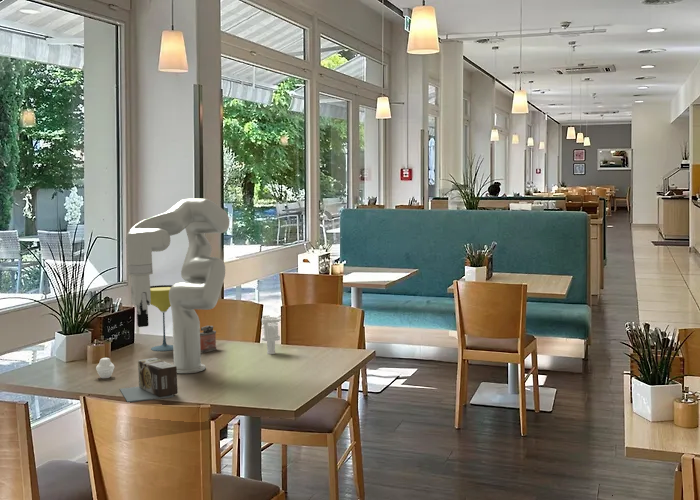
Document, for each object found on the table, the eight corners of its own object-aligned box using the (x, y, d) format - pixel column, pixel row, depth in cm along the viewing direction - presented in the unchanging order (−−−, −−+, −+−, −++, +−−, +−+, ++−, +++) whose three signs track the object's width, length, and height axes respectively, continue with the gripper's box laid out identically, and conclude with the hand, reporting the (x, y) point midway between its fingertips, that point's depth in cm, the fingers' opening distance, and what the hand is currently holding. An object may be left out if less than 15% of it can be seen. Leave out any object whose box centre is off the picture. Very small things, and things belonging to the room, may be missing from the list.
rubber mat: (119, 389, 248) (119, 388, 248) (163, 384, 254) (163, 383, 254) (127, 402, 233) (127, 401, 233) (173, 396, 239) (173, 395, 239)
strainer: (268, 350, 306) (267, 313, 305) (283, 352, 303) (282, 314, 302) (258, 354, 300) (258, 316, 299) (274, 355, 297) (273, 317, 296)
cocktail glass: (152, 343, 323) (150, 284, 321) (193, 344, 321) (191, 285, 319) (134, 352, 305) (132, 290, 303) (177, 353, 303) (176, 290, 301)
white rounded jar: (95, 376, 267) (94, 356, 266) (113, 374, 269) (112, 354, 269) (97, 380, 261) (96, 360, 261) (115, 378, 264) (115, 358, 263)
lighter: (212, 348, 313) (211, 324, 312) (218, 349, 311) (217, 324, 310) (197, 351, 306) (197, 327, 305) (203, 352, 304) (203, 327, 303)
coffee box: (137, 360, 248) (157, 368, 236) (155, 357, 252) (177, 365, 240) (138, 388, 249) (159, 397, 236) (156, 384, 253) (178, 394, 240)
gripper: (124, 267, 249) (127, 323, 251) (131, 273, 236) (134, 331, 238) (148, 266, 253) (150, 321, 254) (156, 271, 239) (159, 329, 241)
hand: (143, 326), depth 246 cm, fingers closed
